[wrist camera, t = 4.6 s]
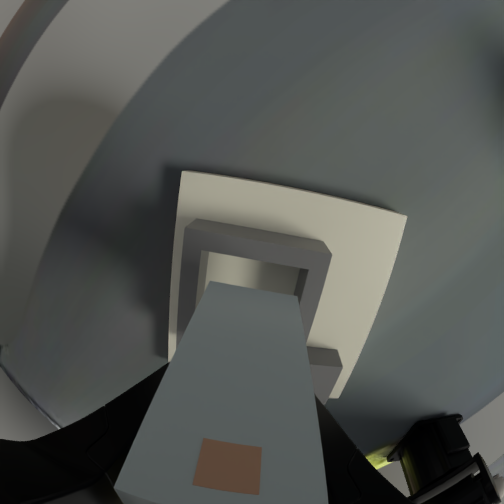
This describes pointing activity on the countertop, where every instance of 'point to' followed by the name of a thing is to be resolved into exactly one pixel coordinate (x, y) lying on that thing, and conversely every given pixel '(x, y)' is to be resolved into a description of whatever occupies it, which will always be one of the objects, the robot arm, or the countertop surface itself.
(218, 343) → the plug
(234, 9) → the countertop surface
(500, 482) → the potion bottle
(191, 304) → the board
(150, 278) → the countertop surface
